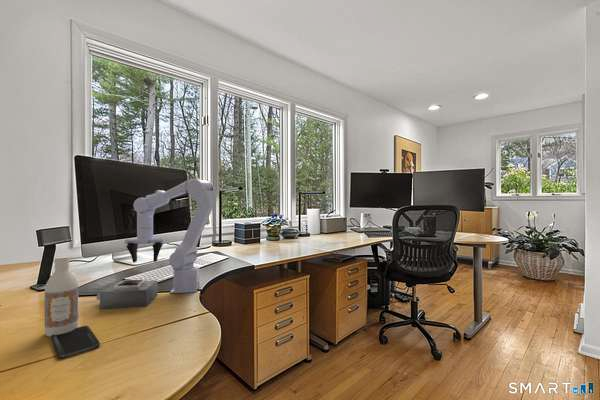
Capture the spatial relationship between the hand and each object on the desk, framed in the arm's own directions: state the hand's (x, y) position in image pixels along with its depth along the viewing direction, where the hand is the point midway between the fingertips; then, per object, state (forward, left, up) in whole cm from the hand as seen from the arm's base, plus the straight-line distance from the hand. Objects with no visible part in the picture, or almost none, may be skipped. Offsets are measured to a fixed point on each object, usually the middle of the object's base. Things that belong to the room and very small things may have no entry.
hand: (145, 261), depth 114 cm
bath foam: (+8, +37, -11) cm, 39 cm away
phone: (+1, +44, -11) cm, 45 cm away
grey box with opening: (+1, +16, -10) cm, 20 cm away
